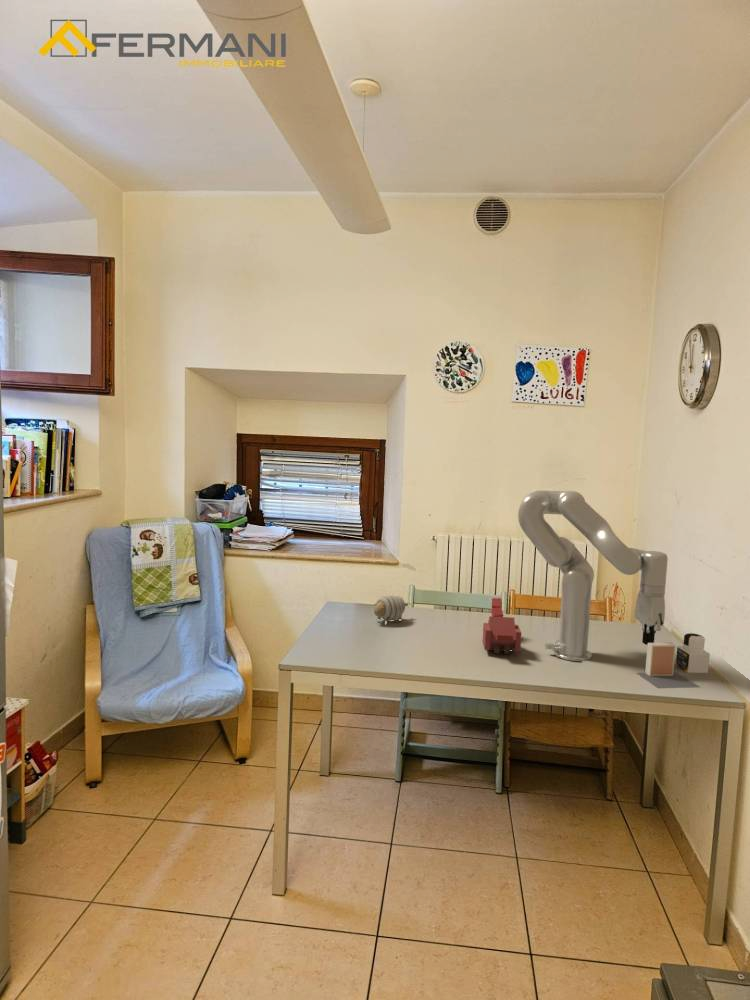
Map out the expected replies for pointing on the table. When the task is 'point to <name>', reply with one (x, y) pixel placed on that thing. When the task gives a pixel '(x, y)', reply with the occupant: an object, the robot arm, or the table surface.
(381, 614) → the toy sheep
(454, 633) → the table surface
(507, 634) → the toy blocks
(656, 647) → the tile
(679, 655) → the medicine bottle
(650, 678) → the mat
